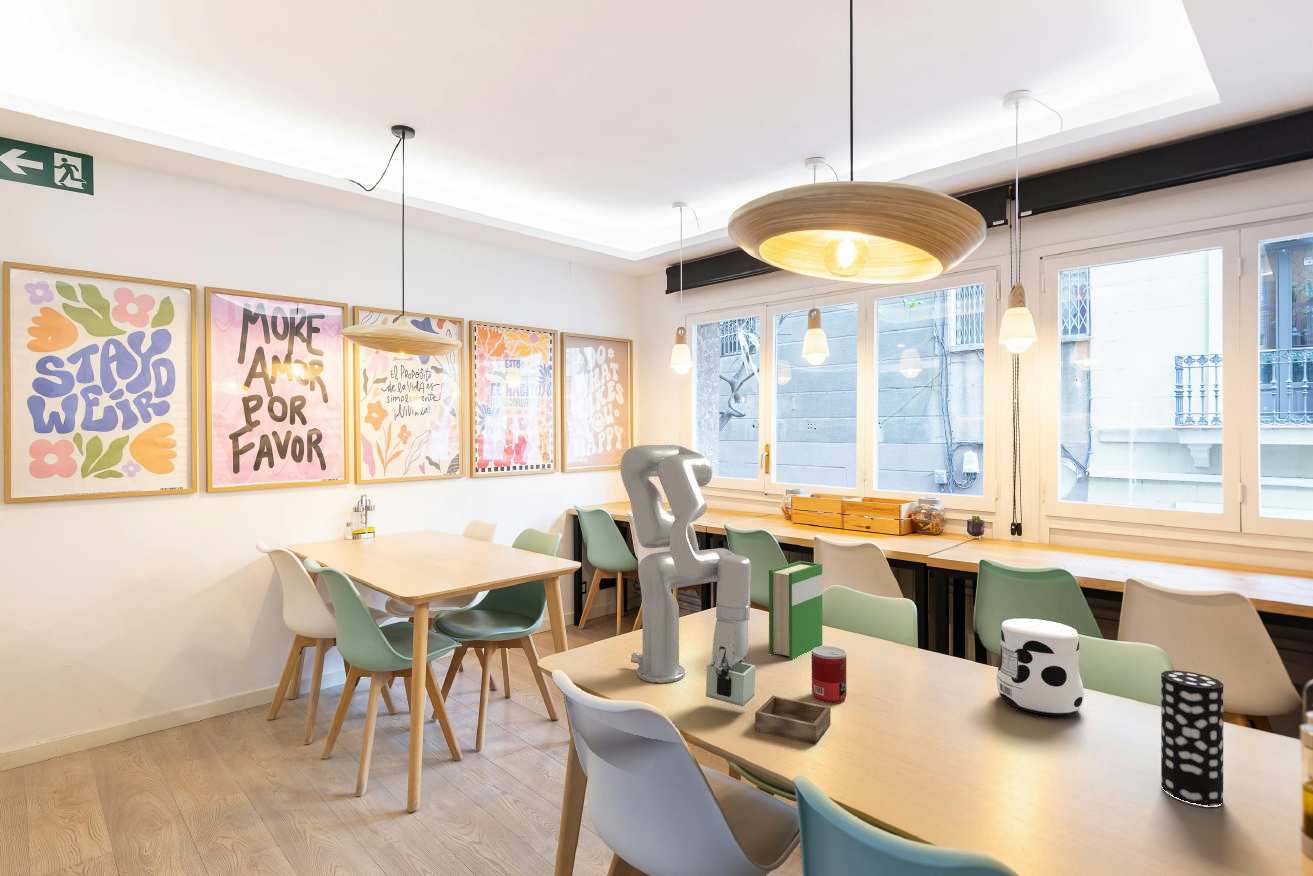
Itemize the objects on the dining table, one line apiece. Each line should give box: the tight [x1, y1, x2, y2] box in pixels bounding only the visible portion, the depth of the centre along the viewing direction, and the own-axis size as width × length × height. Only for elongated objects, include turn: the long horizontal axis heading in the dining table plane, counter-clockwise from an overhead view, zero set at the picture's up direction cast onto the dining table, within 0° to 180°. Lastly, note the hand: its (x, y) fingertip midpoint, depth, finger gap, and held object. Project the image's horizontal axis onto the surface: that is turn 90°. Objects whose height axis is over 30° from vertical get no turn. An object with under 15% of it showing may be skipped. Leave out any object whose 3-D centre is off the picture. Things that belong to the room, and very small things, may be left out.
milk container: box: [995, 618, 1085, 716], centre depth 152 cm, size 17×17×18 cm
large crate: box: [754, 695, 832, 746], centre depth 141 cm, size 13×10×4 cm
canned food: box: [811, 645, 847, 704], centre depth 157 cm, size 8×8×11 cm
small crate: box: [705, 661, 756, 707], centre depth 150 cm, size 9×6×7 cm
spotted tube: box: [1160, 669, 1224, 806], centre depth 114 cm, size 8×8×20 cm
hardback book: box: [768, 560, 823, 661], centre depth 192 cm, size 18×7×24 cm, turn 139°
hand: (730, 688), depth 150 cm, fingers closed on small crate, 6 cm apart
